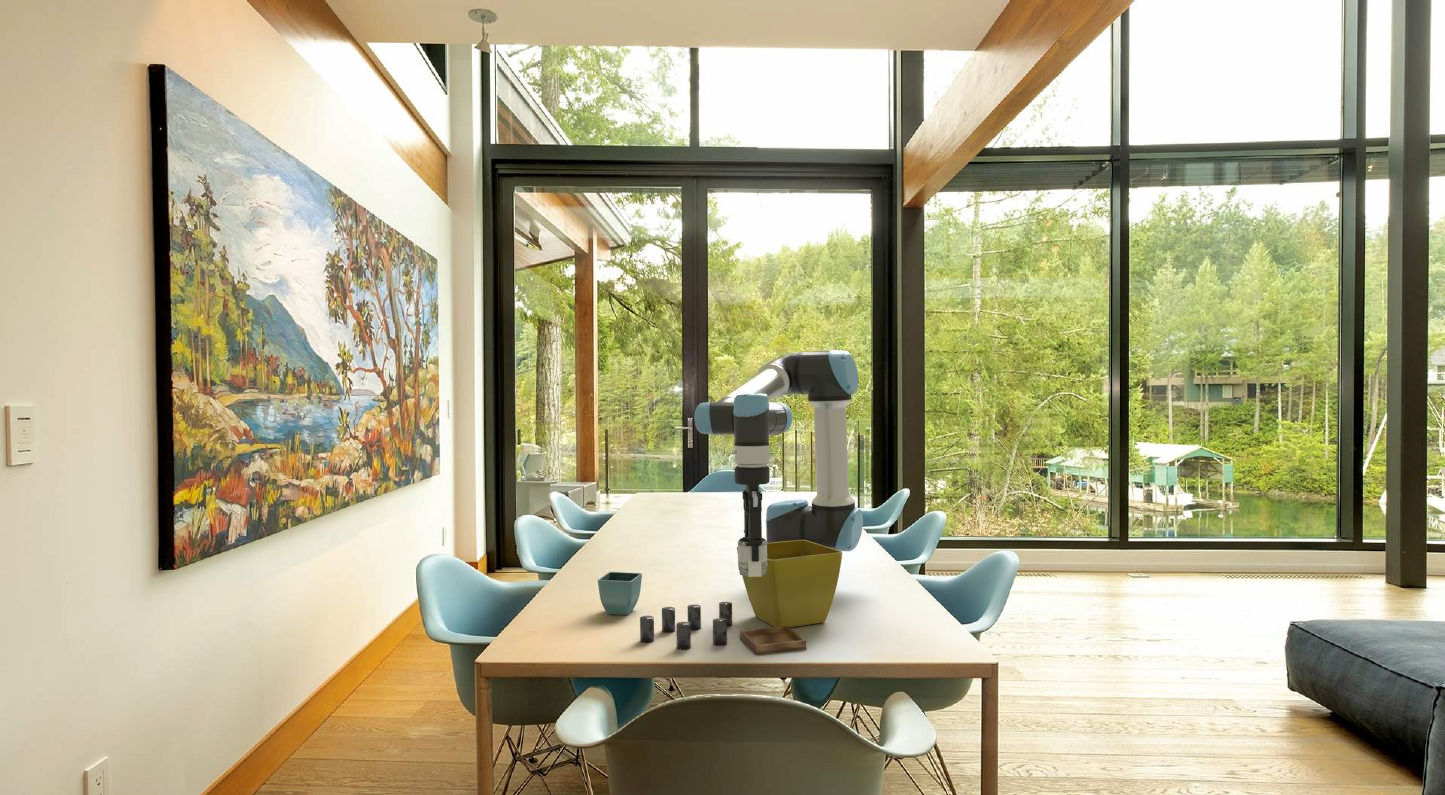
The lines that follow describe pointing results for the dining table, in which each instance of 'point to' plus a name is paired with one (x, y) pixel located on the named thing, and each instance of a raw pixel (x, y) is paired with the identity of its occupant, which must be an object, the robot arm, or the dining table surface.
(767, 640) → the tray
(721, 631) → the spacers
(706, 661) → the dining table surface
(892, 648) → the dining table surface
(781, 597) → the flower pot
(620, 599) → the flower pot
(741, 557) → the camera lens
